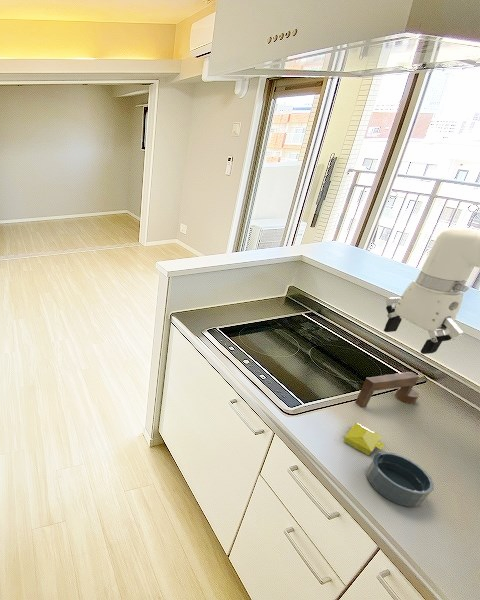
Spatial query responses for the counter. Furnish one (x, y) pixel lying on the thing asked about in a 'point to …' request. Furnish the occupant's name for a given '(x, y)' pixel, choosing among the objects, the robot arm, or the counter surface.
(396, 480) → the bowl
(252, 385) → the counter surface
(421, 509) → the counter surface
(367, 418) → the counter surface
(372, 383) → the brown drawer pull
